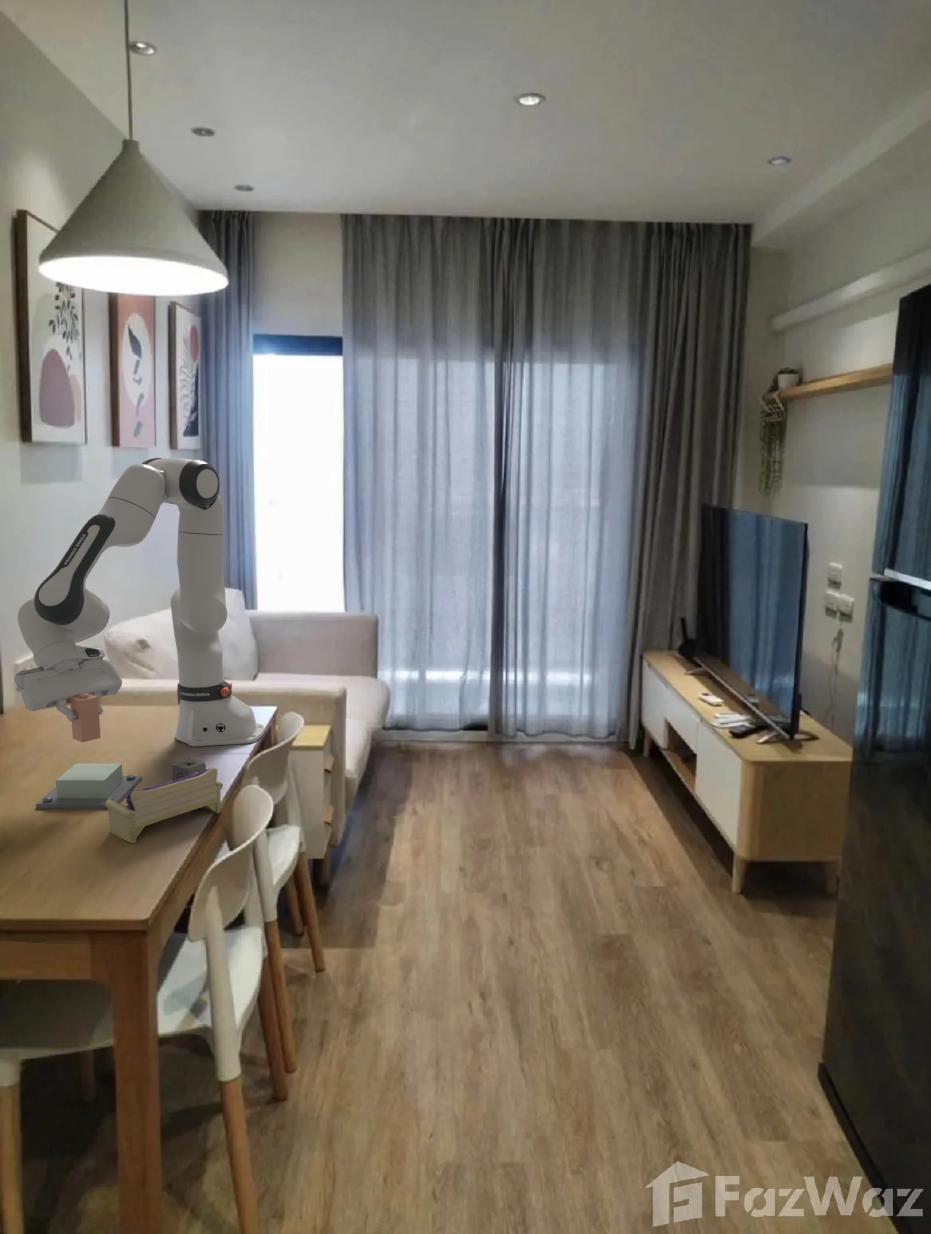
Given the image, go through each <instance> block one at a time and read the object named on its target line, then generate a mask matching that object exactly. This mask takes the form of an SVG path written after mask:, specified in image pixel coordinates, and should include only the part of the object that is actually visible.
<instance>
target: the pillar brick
mask: <svg viewBox="0 0 931 1234" xmlns="http://www.w3.org/2000/svg"><path fill="white" fill-rule="evenodd" d="M69 705H70V709H71V710H75V709H76V711H77V714H78V718H77V720H74V721H71V731H72V739H74V740H76V741H77V742H81V743H87V742H89V741H93V740H97V739H101V725H100V723H101V722H100V715H99V704H98V697H97V696H94V695H91V694H88V693H82V694H79V696H75V697H70V704H69Z"/></svg>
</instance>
